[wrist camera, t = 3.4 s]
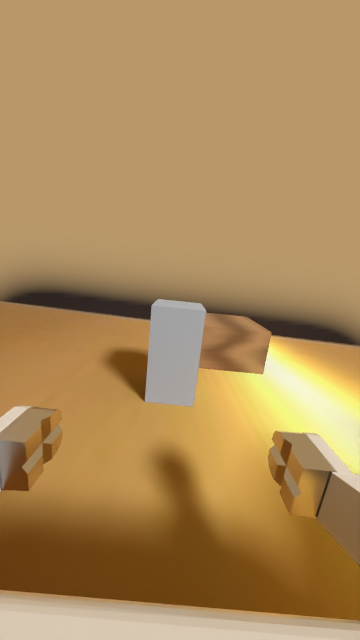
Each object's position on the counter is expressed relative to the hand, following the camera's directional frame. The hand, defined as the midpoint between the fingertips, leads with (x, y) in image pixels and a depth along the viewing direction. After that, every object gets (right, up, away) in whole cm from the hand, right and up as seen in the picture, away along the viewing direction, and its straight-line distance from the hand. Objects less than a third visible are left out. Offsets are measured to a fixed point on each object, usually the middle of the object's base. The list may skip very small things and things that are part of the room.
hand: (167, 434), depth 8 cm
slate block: (-1, -3, +13) cm, 13 cm away
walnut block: (+7, -1, +24) cm, 25 cm away
